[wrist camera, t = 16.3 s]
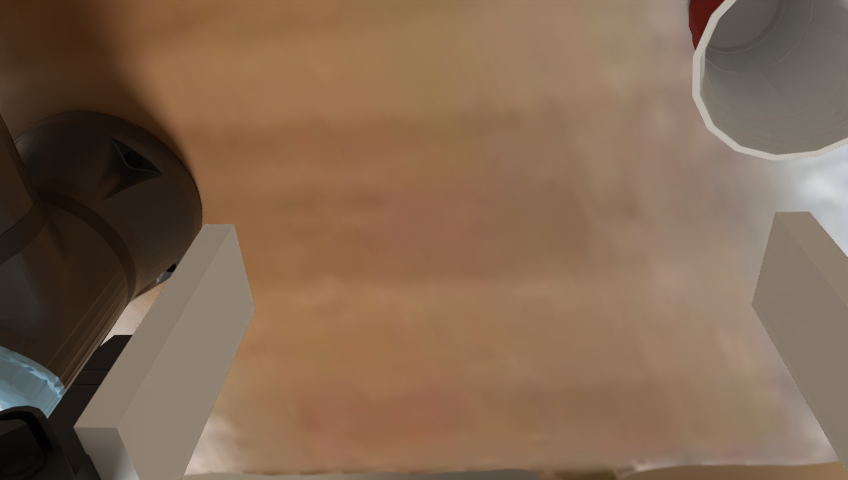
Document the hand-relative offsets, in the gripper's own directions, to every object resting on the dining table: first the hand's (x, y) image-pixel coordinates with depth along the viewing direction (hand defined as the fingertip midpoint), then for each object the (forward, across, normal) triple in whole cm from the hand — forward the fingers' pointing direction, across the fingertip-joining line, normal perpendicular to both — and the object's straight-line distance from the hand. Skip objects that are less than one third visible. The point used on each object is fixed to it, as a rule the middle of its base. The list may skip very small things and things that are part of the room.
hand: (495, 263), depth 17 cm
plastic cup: (+32, +16, -2) cm, 36 cm away
